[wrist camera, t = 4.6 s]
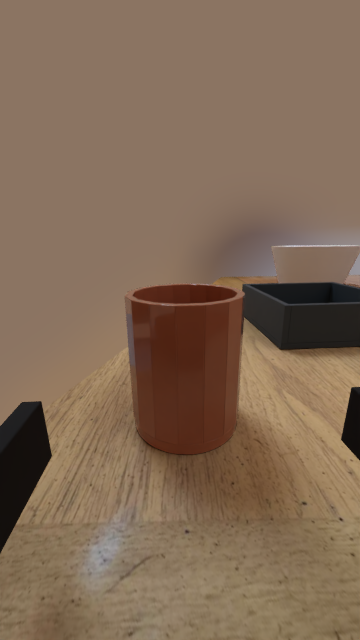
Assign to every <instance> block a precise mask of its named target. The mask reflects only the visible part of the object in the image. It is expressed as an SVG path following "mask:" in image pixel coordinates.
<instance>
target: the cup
mask: <svg viewBox="0 0 360 640" xmlns="http://www.w3.org/2000/svg"><path fill="white" fill-rule="evenodd" d="M244 305H245V293H244V292H243V291H241V290H239V289H237V288H232V287H228V286H222V285H212V284H192V283H191V284H190V283H189V284H188V283H187V284H164V285H153V286H147V287H142V288H137V289H135V290H131V291H129V292H127V294H126V295H125V308H126V321H127V334H128V347H129V360H130V373H131V386H132V399H133V412H134V417H135V424H136V428H137V431H138V433H139V434H140V436H141V437H142V438H143V439H144V440H145V441H146V442H147V443H148V444H150V445H151V446H153V447H155V448H157V449H159V450H162V451H165V452H168V453H173V454H182V455H191V454H199V453H204V452H208V451H211V450H213V449H215V448H217V447H220V446H221V445H223V444H224V443H225V442H226V441H228V440H229V439H230V437H231V436H232V435H233V433H234V431H235V429H236V426H237V415H238V407H239V390H240V373H241V356H242V339H243V322H244Z"/></svg>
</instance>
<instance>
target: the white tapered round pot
mask: <svg viewBox="0 0 360 640" xmlns="http://www.w3.org/2000/svg"><path fill="white" fill-rule="evenodd" d="M272 253H273V258H274V263H275V268H276V272H277V277H278V282H279V283H311V282H336V283H340V284H344V282H345V280H346V278H347V276H348V274H349V272H350V270H351V268H352V266H353V264H354V263H355V261H356V258H357V257H358V255H359V253H360V246H357V245H355V246H353V245H350V246H349V245H342V246H341V245H340V246H338V245H332V246H331V245H327V246H326V245H323V246H272Z"/></svg>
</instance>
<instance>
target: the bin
mask: <svg viewBox="0 0 360 640" xmlns="http://www.w3.org/2000/svg"><path fill="white" fill-rule="evenodd" d="M242 291H243V292H244V293H245V305H244V317H245V318H246V319H247V320H249V321H250V322H251V323H252V324H253V325H254V326H255V327H256V328H257V329H259V330H260V331H261V332H262V333H263V334H264V335H265V336H266V337H267V338H269V339H270V340H271V341H272V342H273V343H274V344H275V345H276V346H277V347H279V348H280V349H305V348H331V347H357V346H360V288H358V287H354V286H349V285H345V284H340V283H336V282H311V283H268V284H243V289H242Z"/></svg>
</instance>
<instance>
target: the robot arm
mask: <svg viewBox="0 0 360 640" xmlns="http://www.w3.org/2000/svg"><path fill="white" fill-rule="evenodd" d="M341 440H342V441H343V442H344V444H345V445H346V446H347V447H348V448H349V449H350V450H351V451H352V452H353V453H354V455H355V456H356V457H357V458H358V459H359V460H360V387H352V388H351V393H350V398H349V403H348V408H347V413H346V418H345V423H344V428H343V433H342V438H341ZM51 457H52V454H51V449H50V444H49V439H48V433H47V428H46V423H45V418H44V413H43V408H42V403H41V401H39V402H22V403H21V404H20V405H19V406H18V407H17V408H16V409H15V410H14V412H13V413H12V414H11V415H10V416H9V417H8V418H7V419H6V421H5V422H4V423H3V424H2V425H1V426H0V553H1V551H2V549H3V547H4V545H5V543H6V541H7V539H8V538H9V536H10V534H11V532H12V530H13V528H14V526H15V524H16V523H17V521H18V519H19V517H20V515H21V513H22V511H23V509H24V507H25V506H26V504H27V502H28V500H29V498H30V496H31V494H32V492H33V491H34V489H35V487H36V485H37V483H38V481H39V479H40V477H41V475H42V474H43V472H44V470H45V468H46V466H47V464H48V462H49V460H50V459H51Z"/></svg>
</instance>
